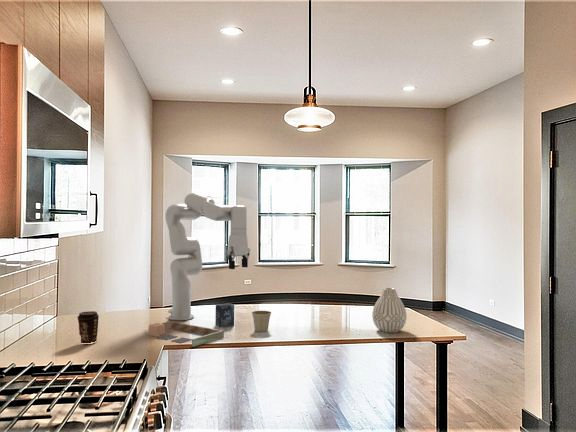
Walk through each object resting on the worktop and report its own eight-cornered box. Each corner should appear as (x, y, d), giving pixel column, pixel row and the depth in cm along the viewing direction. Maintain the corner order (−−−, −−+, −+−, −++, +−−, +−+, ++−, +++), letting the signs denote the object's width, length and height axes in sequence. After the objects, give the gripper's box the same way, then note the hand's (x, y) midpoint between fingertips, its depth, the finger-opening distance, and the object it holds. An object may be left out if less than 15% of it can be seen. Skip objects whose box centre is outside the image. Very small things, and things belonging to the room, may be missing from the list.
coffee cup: (81, 340, 218) (81, 310, 218) (101, 340, 219) (101, 310, 219) (74, 346, 210) (74, 314, 210) (95, 345, 210) (95, 314, 210)
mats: (156, 338, 223) (156, 337, 223) (168, 335, 229) (168, 334, 229) (180, 343, 215) (180, 342, 215) (192, 339, 220) (192, 339, 220)
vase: (412, 334, 232) (412, 291, 232) (378, 335, 229) (379, 291, 229) (398, 326, 248) (399, 285, 248) (367, 327, 245) (367, 286, 245)
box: (220, 327, 244) (220, 306, 244) (215, 325, 248) (215, 304, 248) (234, 325, 248) (234, 304, 248) (229, 323, 253) (229, 302, 253)
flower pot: (274, 329, 241) (274, 311, 241) (267, 333, 232) (267, 315, 232) (256, 327, 244) (256, 309, 244) (248, 332, 235) (248, 313, 235)
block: (148, 334, 230) (148, 325, 229) (157, 332, 234) (157, 323, 234) (156, 336, 227) (156, 326, 227) (164, 334, 231) (164, 324, 231)
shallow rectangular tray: (140, 335, 227) (140, 329, 227) (171, 327, 243) (171, 321, 243) (193, 346, 209) (193, 339, 209) (223, 337, 225) (223, 330, 225)
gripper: (243, 231, 247) (243, 266, 247) (220, 232, 232) (220, 269, 232) (255, 231, 243) (255, 267, 243) (233, 232, 228) (233, 270, 228)
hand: (238, 268), depth 238 cm, fingers open, 9 cm apart
